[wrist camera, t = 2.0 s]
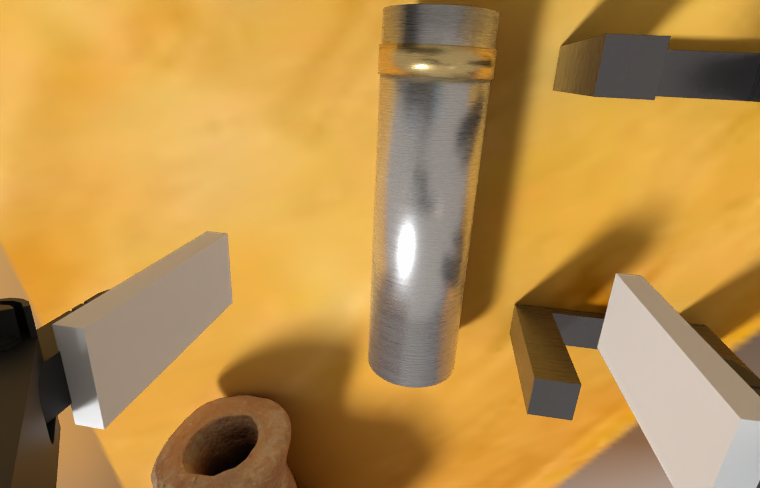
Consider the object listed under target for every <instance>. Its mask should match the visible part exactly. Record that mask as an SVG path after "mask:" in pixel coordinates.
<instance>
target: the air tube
mask: <svg viewBox="0 0 760 488" xmlns="http://www.w3.org/2000/svg"><path fill="white" fill-rule="evenodd" d="M499 14H500V13H499V12H497V11H495V10H491V9H486V8H480V7H472V6H462V5H446V4H406V5H395V6H389V7H385V8H383V21H382V44H379V63H378V74H380V91H379V114H378V137H377V160H376V184H375V207H374V230H373V253H372V276H371V299H370V323H369V346H368V362H369V365H370V367H371V368H372V370H373V371H374V372H375V373H376V374H377V375H378V376H380V377H381V378H383V379H384V380H386V381H388V382H391V383H393V384H396V385H400V386H405V387H428V386H432V385H436V384H438V383H441V382H442V381H444V380H446V379H447V378H448V377H449V376H450V375H451V373H452V372H453V369H454V363H455V356H456V348H457V340H458V332H459V325H460V317H461V309H462V301H463V294H464V286H465V278H466V270H467V263H468V255H469V247H470V239H471V232H472V224H473V216H474V208H475V201H476V193H477V185H478V177H479V170H480V162H481V154H482V146H483V139H484V131H485V123H486V115H487V108H488V100H489V92H490V84H491V79H494V71H495V64H496V56H497V49H495V45H496V38H497V30H498V22H499Z"/></svg>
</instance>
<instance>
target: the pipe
mask: <svg viewBox="0 0 760 488" xmlns="http://www.w3.org/2000/svg"><path fill="white" fill-rule="evenodd" d="M291 434H292V433H291V422H290V418H289V416H288V414H287V413H286V411H285V410H284V409H283V407H281V406H280V405H279V404H278V403H276V402H274V401H272V400H270V399H267V398H261V397H254V396H249V395H239V396H233V397H226V398H219V399H216V400H214V401H211V402H208V403H206V404H204V405H203V406H201V407H199V408H198V409H196V410H195V411H194V412H193V413H192V414H191V415H190V416H189V417H188V418H187V419H185V420H184V422H183V423H182V424H181V425H180V426H179V427H178V428H177V430H176V431H175V432H174V433H173V434H172V435H171V437H170V438H169V439H168V441H167V442H166V444H165V445H164V447H163V448H162V450H161V452H160V454H159V456H158V457H157V459H156V462H155V465H154V467H153V470H152V474H151V481H152V485H153V488H297V486H296V482H295V480H294V478H293V475H292V473H291V471H290V469H289V467H288V465H287V463H286V458H287V453H288V449H289V445H290V440H291Z"/></svg>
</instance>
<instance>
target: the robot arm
mask: <svg viewBox="0 0 760 488" xmlns="http://www.w3.org/2000/svg"><path fill="white" fill-rule="evenodd" d="M231 303H232V289H231V276H230V262H229V248H228V234H227V233H218V232H208V231H207V232H205V233H204V234H202V235H200V236H199V237H197V238H195V239H194V240H192V241H190V242H189V243H187V244H185V245H184V246H182V247H180V248H179V249H177V250H175V251H174V252H172V253H170V254H169V255H167V256H165V257H164V258H162V259H160V260H159V261H157V262H155V263H154V264H152V265H150V266H149V267H147V268H145V269H144V270H142V271H140V272H139V273H137V274H135V275H134V276H132V277H130V278H129V279H127V280H125V281H124V282H122V283H120V284H119V285H117V286H115V287H114V288H112V289H109V290H106V291H103V292H101V293H98V294H96V295H95V296H93V297H91V298H90V299H88V300H86V301H85V302H84V304H80V305H78V306H76V307H74V308H73V309H72V311H68V312H66V313H64V314H63V315H61V316H59V317H58V318H56V319H54V320H52V321H51V322H49V323H47V324H46V325H44V326H42V327H41V328H39V329H37V330H36V327H35V323H34V319H33V316H32V311H31V307H30V304H29V301H26V300H24V299H19V298H5V299H0V488H56V482H57V469H58V454H59V440H60V424H59V420H58V416H57V415H58V414H59V413H60V412H62V411H63V410H64V409H65V408H67V407H68V406H69V405H70V404H71V408H72V412H73V416H74V421H75V424H76V425H82V426H88V427H94V428H100V429H105V428H106V427H107V426H108V425H109V424H110V423H111V422H112V421H113V420H114V419H115V418H116V417H117V416H118V415H119V414H120V413H121V412H122V411H123V410H124V409H125V408H126V407H127V406H128V405H129V404H130V403H131V402H132V401H133V400H134V399H135V398H136V397H137V396H138V395H139V394H140V393H141V392H142V391H143V390H144V389H145V388H146V387H148V386H149V385H150V384H151V383H152V382H153V381H154V380H155V379H156V378H157V377H158V376H159V375H160V374H161V373H162V372H163V371H164V370H165V369H166V368H167V367H168V366H169V365H170V364H171V363H172V362H173V361H174V360H175V359H176V358H177V357H178V356H179V355H180V354H181V353H182V352H183V351H184V350H185V349H186V348H187V347H188V346H189V345H190V344H191V343H192V342H193V341H194V340H195V339H196V338H197V337H198V336H199V335H200V334H201V333H202V332H203V331H204V330H205V329H206V328H207V327H208V326H209V325H210V324H211V323H212V322H213V321H214V320H215V319H216V318H217V317H218V316H219V315H220V314H221V313H222V312H223V311H224V310H225V309H226V308H227V307H228V306H229V305H230V304H231ZM597 348H598V350H599V351H600V353H601V355H602V357H603V359H604V361H605V363H606V364H607V366H608V368H609V370H610V372H611V374H612V375H613V377H614V379H615V381H616V383H617V385H618V386H619V388H620V390H621V392H622V394H623V396H624V398H625V399H626V401H627V403H628V405H629V407H630V409H631V410H632V412H633V414H634V416H635V418H636V420H637V421H638V423H639V425H640V427H641V429H642V431H643V432H644V434H645V436H646V438H647V440H648V442H649V444H650V445H651V447H652V449H653V451H654V453H655V454H656V456H657V458H658V460H659V462H660V464H661V466H662V467H663V469H664V471H665V473H666V475H667V477H668V479H669V480H670V482H671V484H672V486H673V488H760V379H759V378H758V377H757V376H756V375H755V374H754V373H752V372H751V371H749V370H747V369H746V368H744V367H743V366H741V365H739V364H738V363H736V362H735V361H733V360H729V359H722V358H721V356H720V355H719V354H718V353H717V352H716V351H715V350H714V349H713V348H712V347H711V346H710V345H709V344H708V343H707V342H706V341H705V340H704V339H703V338H702V337H701V336H700V335H699V334H698V333H697V332H696V331H695V330H694V329H693V328H692V327H691V326H690V325H689V324H688V323H687V322H686V321H685V320H684V319H683V318H682V317H681V316H680V315H679V313H678V312H677V311H676V310H675V309H674V308H673V307H672V306H671V305H670V304H669V303H668V302H667V301H666V300H665V299H664V298H663V297H662V296H661V295H660V294H659V293H658V292H657V291H656V290H655V289H654V288H653V287H652V286H651V285H650V284H649V283H648V282H647V281H646V280H645V279H644V278H643V277H642V276H639V275H629V274H620V273H616V275H615V279H614V283H613V287H612V291H611V295H610V299H609V303H608V307H607V311H606V315H605V319H604V323H603V327H602V331H601V335H600V338H599V342H598V346H597Z"/></svg>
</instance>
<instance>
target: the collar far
mask: <svg viewBox="0 0 760 488" xmlns="http://www.w3.org/2000/svg"><path fill="white" fill-rule="evenodd" d="M605 315H606V314H598V313H589V312H580V311H571V310H562V309H553V308H545V307H536V306H527V305H518V304H515V307H514V312H513V318H512V324H511V329H510V336H511V341H512V346H513V350H514V355H515V360H516V364H517V369H518V373H519V378H520V383H521V387H522V392H523V397H524V401H525V406H526V411H527V414H532V415H539V416H546V417H553V418H559V419H566V420H572V419H573V415H574V411H575V407H576V403H577V399H578V395H579V392H580V388H581V383H580V380H579V378H578V375H577V373H576V370H575V368H574V366H573V363H572V361H571V358H570V356H569V353H568V351H567V349H566V346H565V345H568V346H576V347H584V348H592V349H598V348H597V346H598V342H599V338H600V335H601V331H602V327H603V323H604V319H605ZM689 325H690V326H691V327H692V328H693V329H694V330H695V331H696V332H697V333H698V334H699V335H700V336H701V337H702V338H703V339H704V340H705V341H706V342H707V343H708V344H709V345H710V346H711V347H712V348H713V349H714V350H715V351H716V352H717V353H718V354H719V355H720V356H721V358H722V359H729V360H733V361H735V362H736V363H738V364H739V365H741V366H743V367H744V368H746V369H747V370H749V371H751V370H750V369H749V368H748V367H747V366H746V365H745V364H744V363H743V362H742V361H741V360H740V359H739V358H738V357H737V356H736V355H735V354H734V353H733V352H732V351H731V350H730V349H729V348H728V347H727V346H726V345H725V344H724V343H723V342H722V341H721V340H720V339H719V338H718V337H717V336H716V335H715V334H714V333H713V332H712V331H711V330H710V329H709V328H708V327H707V326H704V325H695V324H689ZM751 372H752V371H751ZM752 373H753V372H752Z"/></svg>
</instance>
